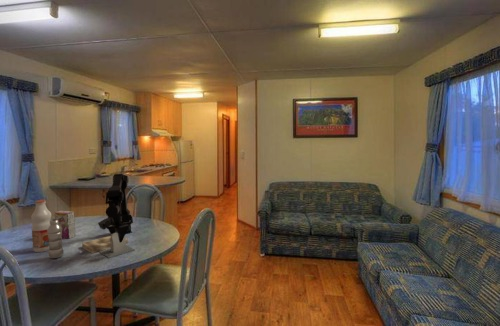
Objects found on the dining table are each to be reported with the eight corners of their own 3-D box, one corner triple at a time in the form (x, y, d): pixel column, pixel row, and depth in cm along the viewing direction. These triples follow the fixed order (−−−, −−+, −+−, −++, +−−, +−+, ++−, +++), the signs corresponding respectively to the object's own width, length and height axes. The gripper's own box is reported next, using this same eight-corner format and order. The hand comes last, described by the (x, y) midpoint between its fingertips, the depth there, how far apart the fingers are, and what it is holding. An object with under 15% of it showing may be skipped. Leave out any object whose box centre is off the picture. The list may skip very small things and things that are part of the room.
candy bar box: (55, 237, 177) (53, 212, 176) (62, 235, 182) (61, 210, 181) (68, 239, 174) (67, 213, 173) (76, 236, 179) (74, 211, 178)
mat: (124, 245, 163) (124, 244, 163) (134, 250, 155) (134, 249, 155) (99, 252, 152) (99, 251, 152) (108, 258, 144) (108, 257, 144)
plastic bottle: (53, 255, 149) (50, 218, 148) (66, 254, 150) (64, 218, 148) (45, 260, 143) (42, 221, 141) (59, 259, 143) (57, 221, 142)
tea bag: (126, 249, 155) (125, 231, 155) (113, 252, 150) (112, 234, 150) (123, 247, 158) (122, 230, 157) (110, 251, 153) (109, 233, 152)
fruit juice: (38, 247, 161) (35, 199, 159) (56, 245, 163) (53, 198, 161) (29, 253, 152) (25, 202, 150) (49, 251, 154) (45, 201, 152)
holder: (117, 237, 175) (117, 234, 175) (128, 242, 166) (127, 238, 166) (82, 247, 160) (82, 243, 160) (91, 253, 151) (91, 248, 151)
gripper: (92, 212, 152) (94, 240, 153) (107, 218, 140) (109, 248, 141) (113, 208, 160) (114, 235, 161) (129, 213, 148) (130, 242, 149)
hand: (116, 240), depth 153 cm, fingers open, 9 cm apart
